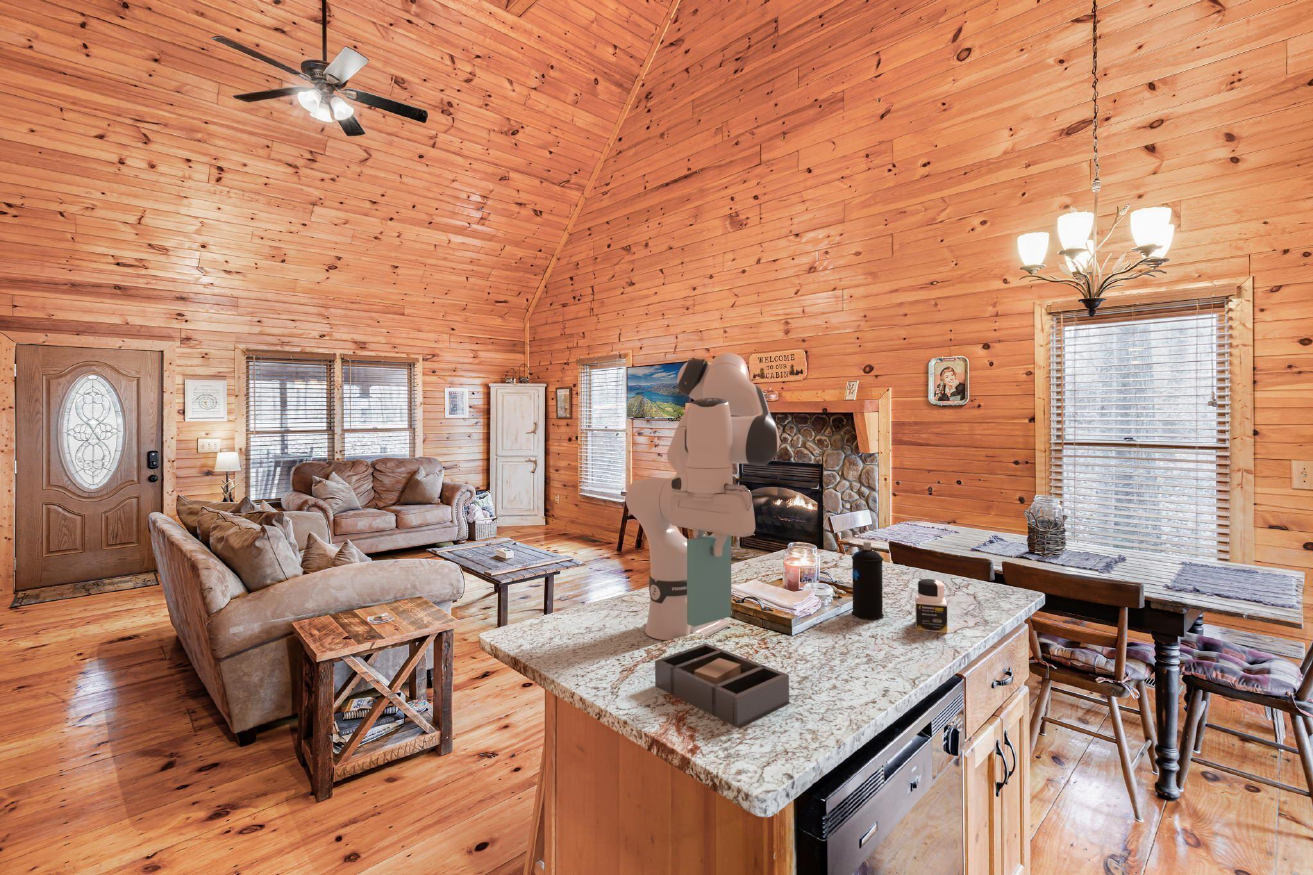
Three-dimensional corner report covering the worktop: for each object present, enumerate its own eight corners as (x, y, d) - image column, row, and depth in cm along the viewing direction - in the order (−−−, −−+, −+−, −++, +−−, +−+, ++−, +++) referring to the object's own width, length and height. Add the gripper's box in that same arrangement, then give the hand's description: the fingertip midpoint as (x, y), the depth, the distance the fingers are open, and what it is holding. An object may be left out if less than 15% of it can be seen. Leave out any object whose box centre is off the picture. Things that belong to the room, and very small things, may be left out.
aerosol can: (886, 613, 165) (886, 541, 164) (879, 621, 158) (879, 546, 157) (855, 608, 169) (855, 538, 169) (848, 616, 162) (847, 543, 162)
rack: (706, 673, 126) (705, 643, 126) (791, 710, 109) (791, 675, 109) (655, 693, 117) (655, 660, 117) (739, 737, 100) (739, 698, 100)
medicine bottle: (916, 630, 151) (915, 582, 151) (915, 621, 158) (915, 576, 158) (947, 633, 148) (947, 585, 148) (945, 624, 155) (945, 578, 155)
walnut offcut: (719, 670, 118) (719, 657, 118) (740, 677, 115) (740, 664, 115) (694, 683, 112) (694, 670, 112) (716, 691, 109) (715, 677, 109)
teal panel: (723, 613, 119) (723, 533, 119) (731, 616, 117) (731, 534, 117) (687, 624, 112) (686, 539, 112) (694, 626, 111) (694, 540, 111)
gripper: (762, 484, 109) (762, 560, 109) (685, 478, 124) (686, 545, 125) (739, 486, 105) (739, 565, 105) (662, 480, 120) (663, 549, 120)
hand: (709, 554), depth 115 cm, fingers closed on teal panel, 2 cm apart
